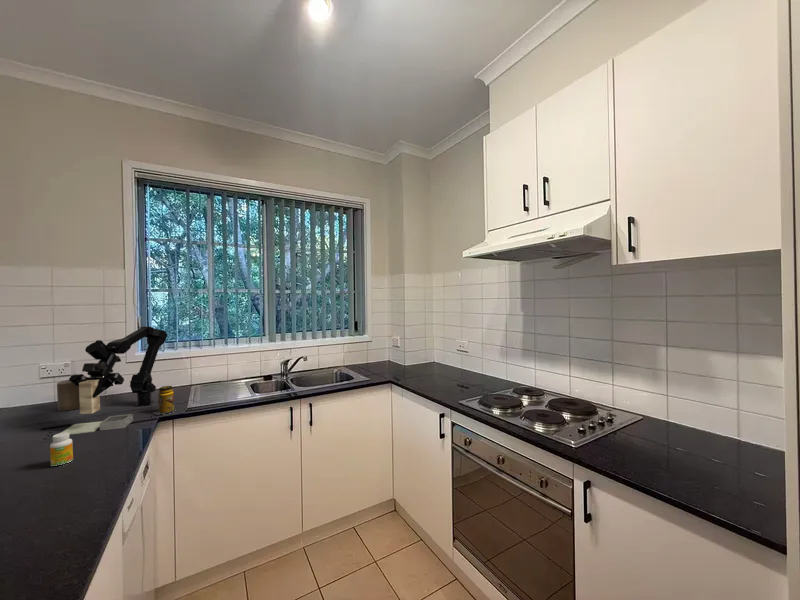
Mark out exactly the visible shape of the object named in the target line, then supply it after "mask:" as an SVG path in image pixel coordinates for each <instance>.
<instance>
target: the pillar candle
mask: <svg viewBox="0 0 800 600" xmlns="http://www.w3.org/2000/svg"><path fill="white" fill-rule="evenodd" d="M56 391H57V392H56V395H57V396H56V397H57V411H58V410H60V411H59V412H68V411H67V410H69V411H74V410H73V409H75V410H77V408H79V409H80V399H79V386H75V385H74V384H73V383H72V382H71V381H69V379H66V380H61V381H58V382H56Z"/></svg>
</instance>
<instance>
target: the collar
mask: <svg viewBox="0 0 800 600" xmlns="http://www.w3.org/2000/svg"><path fill="white" fill-rule="evenodd" d="M133 421H134V414H133V413H129V414H119V415H112V416H111V415H110V416H108V417H107V418H105V419H104V420H102V422H101V423H100V428H99V431H108V430H115V429H116V430H117V429H125V428H127V427H128V425H130V424H131V423H132V422H133Z"/></svg>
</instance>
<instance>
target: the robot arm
mask: <svg viewBox="0 0 800 600" xmlns="http://www.w3.org/2000/svg"><path fill="white" fill-rule="evenodd" d="M144 338H146V342H147V348H146V351H145V354H144V357H143V359H142V362H141V366H140V368H139V372H137V373H136V374H133V375H131V379H130V381H129V388H130V390H131V392H132V394H136V399H137V401H136V402H137V403H136V404H134V407H141V406H143V405H144V406H150V405H151V404H153V403H154V401H155V400H152V393H154V392H155V391H156V388H157V386H156V385H155V384H154V383H153V377H152V370H153V368H154V364H155V363H156V359H157V355H158V352H159V349H160V348H161V346H162V345H164V344H165V342H166V340H167V338H168V332H167V331H165V330H164V329H158V328H154V327H153V326H141V327H139V329H137V330H134V331H133V332H131V333H129V334H128V335H126V336H124V337H121V338H119V339H115V340H112V341H108V343H107V344H106V343H104V341H102V340H101V339H97V340H95V342H92V343H90V344H89V345H87V346H86V347H85V350H84V351H85V353H87V354H88V355H89V356H90V357H92V358H93V359H94V360H97V361H98V360H99V361H98V362H96V363H95V362H94V363H93V362H89V363H88V362H87V363H83V366H82V370H81V372H83V373H84V372H86V373H87V375H88V376H86V375H84V374H82V373H80V374H78V373H77V374H76V373H74V374H71V375H70V376H69V378H68V380H69V381H71V382H72V383H73V384H74V385H75V386H79V383H80V382H83V381H86V380H99V384H98V386H97V388H96V390H95V392H94V394H93V396H92V397H93V398H95V397H96V396H98V395H99V394H101V393H103V392H105V391H106V390H107V389H110V388H111V387H114V385H115V386H116V385H117V386H119V385H123V384H124V381H125V378H124V377H123V376H122V375H121V373H119V372H114V369H113V368H114V366H115V365H116V363H120V362H122V359H121V358H120V356H119V355H123V354H125V353H127V352H128V351H129V350H130V349H131V347H132V346H133V345H135V344H136V343H137V342H139V341H141V340H142V339H144Z"/></svg>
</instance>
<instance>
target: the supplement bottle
mask: <svg viewBox="0 0 800 600" xmlns="http://www.w3.org/2000/svg"><path fill="white" fill-rule="evenodd" d="M52 441H53V442H51V443H49V444H50V445H49V456H50V457H49V458H50V459H49V460H50V466H51V467H52V466H57V465H62V464H65V463H69V462H71V461H72V460H73V461H74V451H73V450H74V449H73V446H74V445H73V439H72V438H70V435H69V433H68V432H64V433H61V432H59V433H56V434H54V435H53V436H52ZM73 461H72V462H73ZM72 462H71V463H72ZM69 464H70V463H69Z"/></svg>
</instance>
